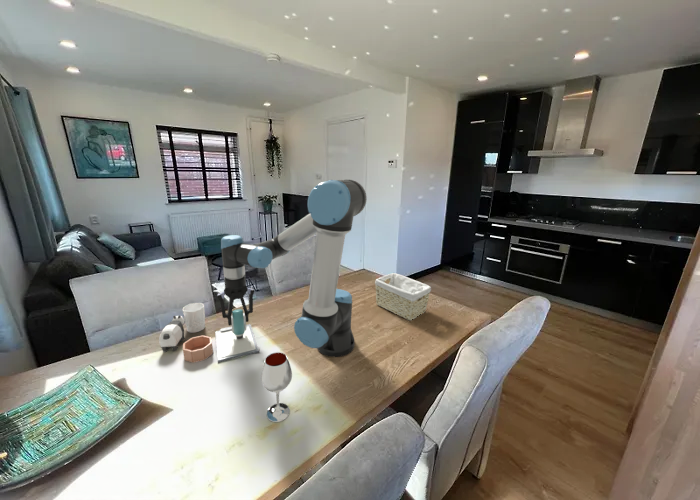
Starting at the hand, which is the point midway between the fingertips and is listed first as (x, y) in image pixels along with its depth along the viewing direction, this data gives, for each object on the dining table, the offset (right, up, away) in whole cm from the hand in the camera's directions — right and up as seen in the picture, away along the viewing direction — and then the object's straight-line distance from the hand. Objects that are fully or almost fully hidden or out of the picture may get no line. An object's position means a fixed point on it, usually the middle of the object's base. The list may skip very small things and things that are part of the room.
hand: (239, 330), depth 112 cm
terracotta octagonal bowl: (-11, -6, -10) cm, 16 cm away
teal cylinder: (+1, -3, -1) cm, 3 cm away
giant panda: (-23, -4, -4) cm, 24 cm away
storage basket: (+70, +2, +30) cm, 77 cm away
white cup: (-21, -1, +6) cm, 22 cm away
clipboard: (0, -4, -2) cm, 5 cm away
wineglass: (+24, -14, -33) cm, 43 cm away
